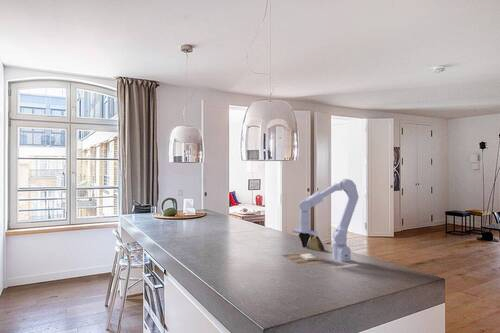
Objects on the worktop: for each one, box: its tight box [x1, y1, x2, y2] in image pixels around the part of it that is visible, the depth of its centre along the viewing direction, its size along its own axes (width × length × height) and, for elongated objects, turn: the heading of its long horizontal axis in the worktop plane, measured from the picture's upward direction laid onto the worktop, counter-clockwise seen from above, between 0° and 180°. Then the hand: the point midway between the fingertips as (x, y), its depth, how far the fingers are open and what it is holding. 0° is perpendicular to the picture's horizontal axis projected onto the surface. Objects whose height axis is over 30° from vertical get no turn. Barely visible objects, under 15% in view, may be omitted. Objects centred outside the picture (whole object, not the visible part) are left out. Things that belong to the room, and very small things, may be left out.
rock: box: [306, 235, 326, 252], centre depth 200 cm, size 11×9×10 cm
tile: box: [300, 253, 317, 261], centre depth 177 cm, size 2×6×7 cm
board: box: [281, 251, 329, 266], centre depth 177 cm, size 22×16×1 cm
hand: (304, 247), depth 181 cm, fingers closed
